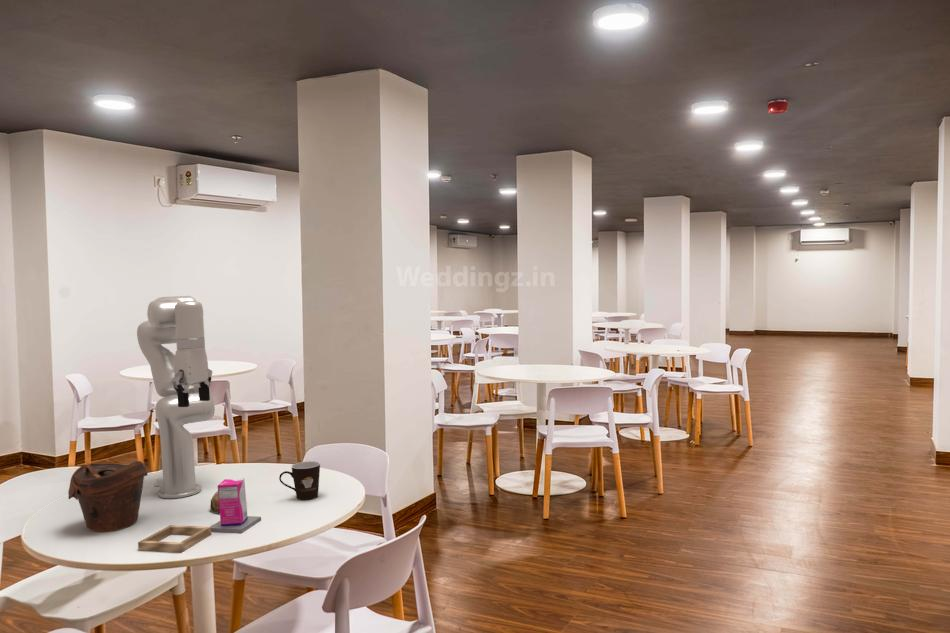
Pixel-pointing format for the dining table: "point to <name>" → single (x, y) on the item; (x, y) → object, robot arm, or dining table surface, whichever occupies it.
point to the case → (108, 494)
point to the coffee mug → (305, 479)
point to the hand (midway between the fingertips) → (194, 403)
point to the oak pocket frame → (155, 545)
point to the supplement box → (232, 502)
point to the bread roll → (215, 503)
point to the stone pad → (236, 526)
